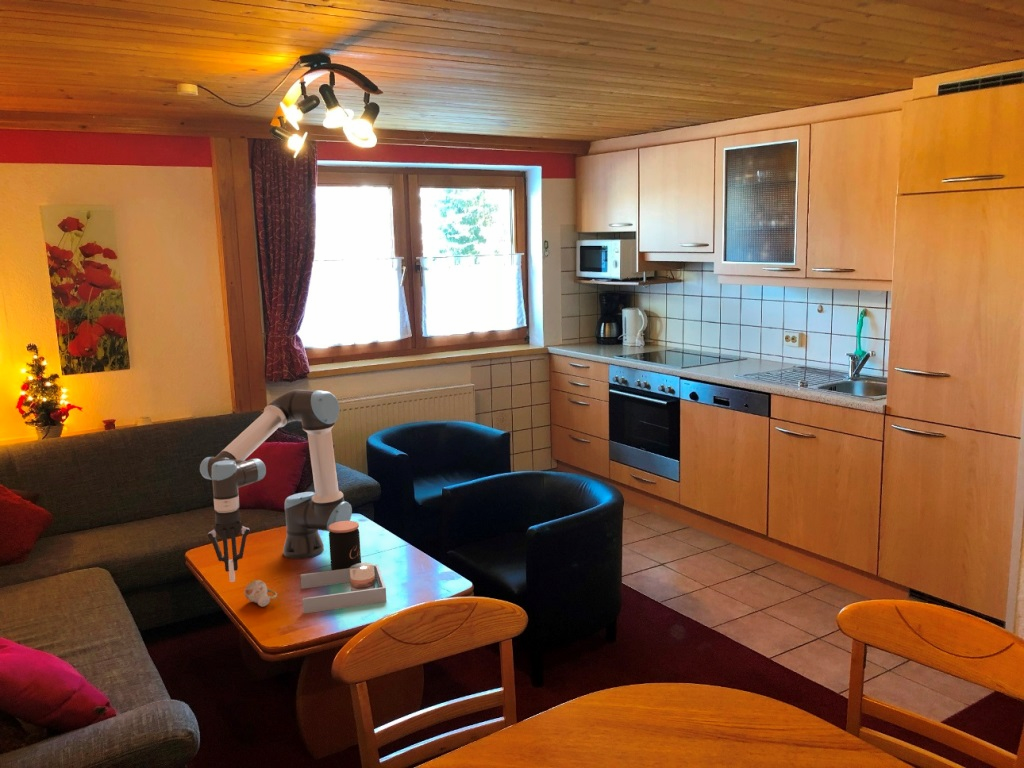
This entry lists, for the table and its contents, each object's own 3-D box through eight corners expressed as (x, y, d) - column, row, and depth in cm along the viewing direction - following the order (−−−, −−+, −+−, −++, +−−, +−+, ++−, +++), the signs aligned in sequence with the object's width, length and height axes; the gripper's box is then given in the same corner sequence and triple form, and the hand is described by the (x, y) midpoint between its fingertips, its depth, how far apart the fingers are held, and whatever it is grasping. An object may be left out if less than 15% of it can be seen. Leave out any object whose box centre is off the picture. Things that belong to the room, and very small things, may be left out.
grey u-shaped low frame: (301, 588, 280) (300, 574, 279) (378, 578, 287) (377, 564, 286) (303, 614, 260) (302, 599, 259) (386, 602, 267) (385, 587, 266)
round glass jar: (350, 589, 278) (348, 564, 277) (374, 586, 280) (372, 561, 279) (352, 598, 270) (350, 573, 269) (376, 595, 273) (375, 569, 271)
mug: (261, 614, 262) (236, 595, 262) (266, 611, 272) (242, 592, 272) (276, 595, 264) (252, 576, 264) (281, 592, 274) (257, 574, 274)
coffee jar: (354, 580, 286) (351, 530, 283) (326, 578, 288) (323, 529, 285) (366, 568, 296) (363, 521, 294) (338, 567, 299) (335, 520, 296)
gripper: (204, 515, 255) (210, 587, 258) (248, 510, 258) (253, 581, 262) (206, 508, 262) (211, 578, 265) (248, 504, 265) (253, 573, 269)
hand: (232, 580), depth 263 cm, fingers closed
